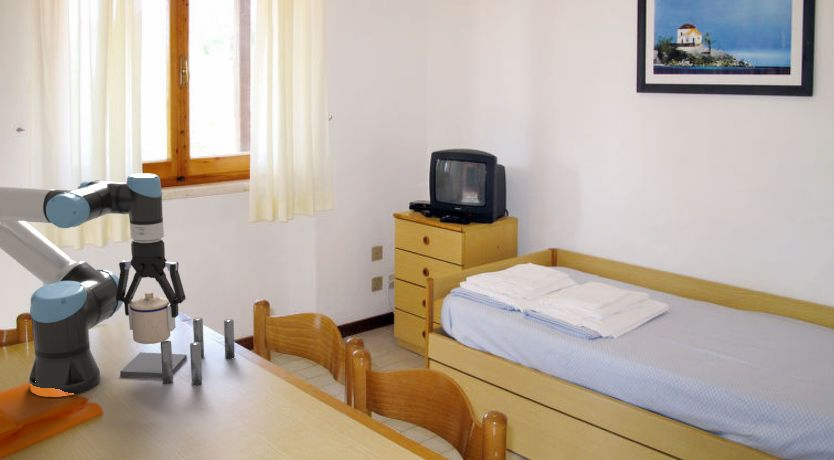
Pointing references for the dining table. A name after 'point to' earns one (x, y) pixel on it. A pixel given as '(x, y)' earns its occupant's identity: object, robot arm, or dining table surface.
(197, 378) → the post front right
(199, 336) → the post back left
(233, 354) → the post back right
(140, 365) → the coaster
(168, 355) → the post front left
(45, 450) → the dining table surface
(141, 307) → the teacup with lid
